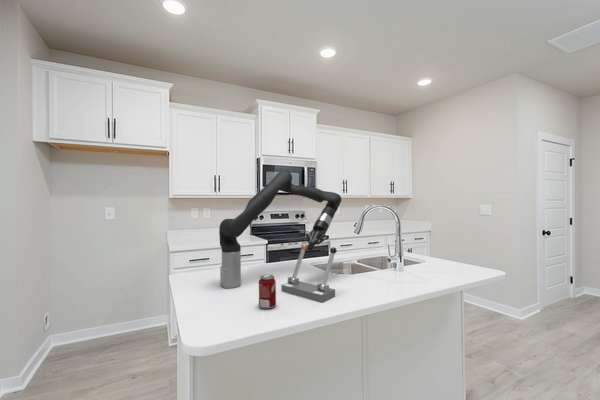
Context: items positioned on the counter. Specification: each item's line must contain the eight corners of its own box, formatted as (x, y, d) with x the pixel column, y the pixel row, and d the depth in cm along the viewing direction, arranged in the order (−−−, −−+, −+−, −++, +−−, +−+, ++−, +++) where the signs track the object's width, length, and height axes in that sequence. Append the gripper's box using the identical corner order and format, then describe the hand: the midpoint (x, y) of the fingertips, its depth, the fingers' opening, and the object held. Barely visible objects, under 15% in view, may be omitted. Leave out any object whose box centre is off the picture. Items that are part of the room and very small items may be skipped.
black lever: (321, 290, 123) (333, 248, 131) (326, 291, 121) (338, 249, 129) (317, 288, 121) (329, 245, 129) (323, 289, 119) (335, 246, 127)
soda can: (268, 311, 108) (268, 279, 108) (255, 307, 111) (255, 277, 111) (279, 305, 113) (279, 275, 113) (266, 302, 117) (265, 273, 117)
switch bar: (295, 286, 138) (295, 274, 138) (335, 296, 124) (335, 283, 124) (281, 291, 131) (281, 279, 130) (322, 302, 116) (322, 288, 116)
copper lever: (291, 283, 134) (304, 244, 142) (296, 284, 132) (309, 245, 140) (288, 281, 132) (301, 242, 140) (293, 282, 130) (305, 243, 138)
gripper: (335, 229, 149) (322, 255, 139) (315, 227, 157) (301, 252, 148) (330, 219, 145) (316, 246, 135) (309, 218, 153) (295, 243, 144)
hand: (308, 249), depth 141 cm, fingers closed
